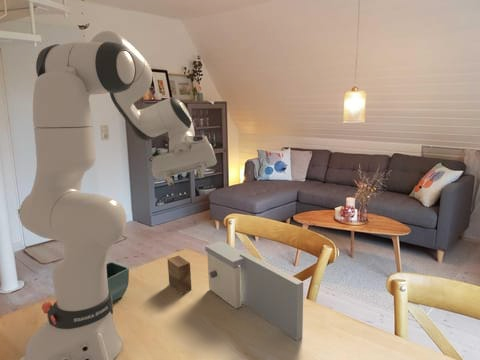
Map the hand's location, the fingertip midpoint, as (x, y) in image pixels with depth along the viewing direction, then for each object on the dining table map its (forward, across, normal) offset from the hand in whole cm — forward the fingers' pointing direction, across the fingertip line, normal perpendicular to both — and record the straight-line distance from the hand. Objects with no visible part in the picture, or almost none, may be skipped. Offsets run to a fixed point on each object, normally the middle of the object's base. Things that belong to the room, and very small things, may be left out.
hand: (185, 180), depth 111 cm
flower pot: (+22, -30, +19) cm, 42 cm away
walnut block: (+20, -11, +25) cm, 34 cm away
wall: (+35, +10, +21) cm, 42 cm away
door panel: (+28, +2, +23) cm, 36 cm away
